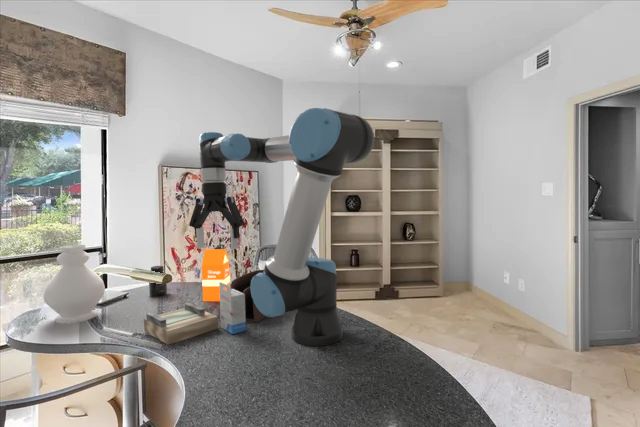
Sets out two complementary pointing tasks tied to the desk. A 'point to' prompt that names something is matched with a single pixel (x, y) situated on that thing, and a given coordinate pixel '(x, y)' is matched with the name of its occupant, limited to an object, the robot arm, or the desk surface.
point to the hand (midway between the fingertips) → (217, 248)
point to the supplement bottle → (154, 288)
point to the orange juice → (214, 273)
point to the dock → (180, 324)
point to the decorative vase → (74, 287)
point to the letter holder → (248, 296)
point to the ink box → (232, 309)
